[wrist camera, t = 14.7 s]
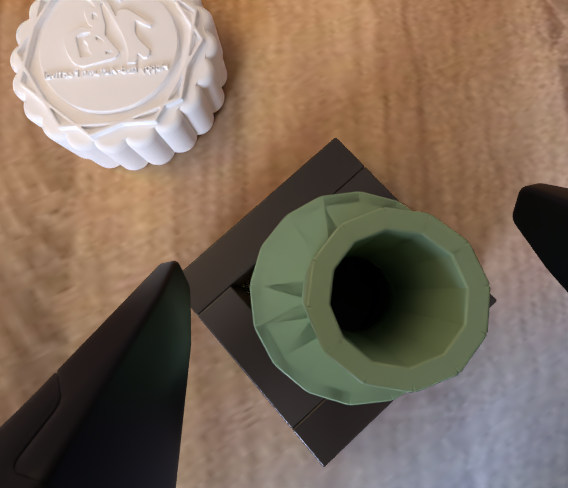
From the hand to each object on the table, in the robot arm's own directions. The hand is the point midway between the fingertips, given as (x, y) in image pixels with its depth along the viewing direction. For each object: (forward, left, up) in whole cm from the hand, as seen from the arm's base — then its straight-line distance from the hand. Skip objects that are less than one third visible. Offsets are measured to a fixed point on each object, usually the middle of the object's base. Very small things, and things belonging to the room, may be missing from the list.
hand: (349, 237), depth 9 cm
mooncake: (+17, +1, -11) cm, 20 cm away
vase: (-1, +1, -11) cm, 11 cm away
